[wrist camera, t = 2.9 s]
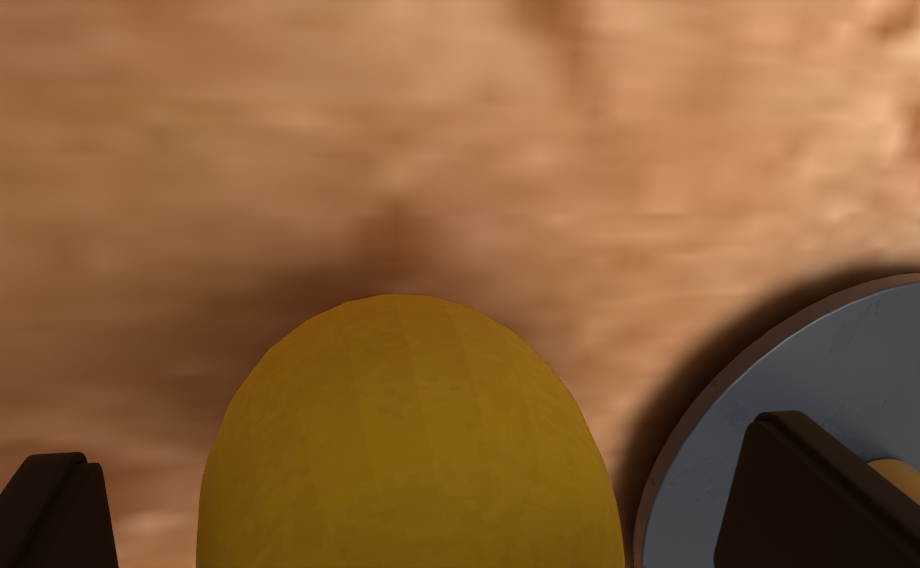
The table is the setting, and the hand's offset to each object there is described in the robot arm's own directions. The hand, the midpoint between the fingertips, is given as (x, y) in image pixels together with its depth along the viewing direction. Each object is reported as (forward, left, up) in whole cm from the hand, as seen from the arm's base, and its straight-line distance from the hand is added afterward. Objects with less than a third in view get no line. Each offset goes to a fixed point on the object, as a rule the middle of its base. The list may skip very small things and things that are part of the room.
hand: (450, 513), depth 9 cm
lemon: (0, -1, -4) cm, 4 cm away
